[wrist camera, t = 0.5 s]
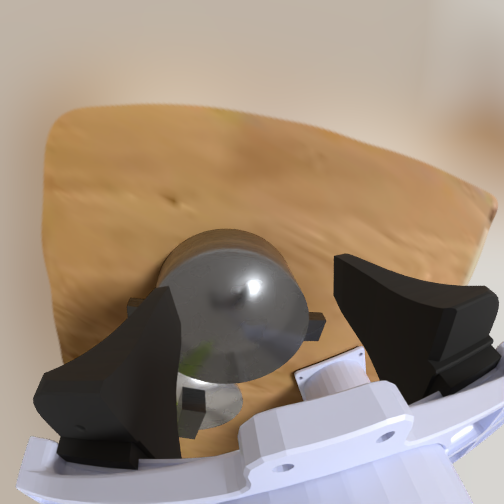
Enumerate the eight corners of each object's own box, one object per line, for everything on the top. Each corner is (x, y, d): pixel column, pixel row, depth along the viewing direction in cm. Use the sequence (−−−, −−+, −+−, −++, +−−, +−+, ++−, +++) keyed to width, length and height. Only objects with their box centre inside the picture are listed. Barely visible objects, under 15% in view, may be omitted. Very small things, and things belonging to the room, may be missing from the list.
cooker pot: (322, 240, 23) (348, 269, 18) (290, 345, 27) (303, 383, 23) (140, 219, 20) (123, 246, 16) (141, 335, 24) (132, 375, 20)
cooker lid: (256, 371, 29) (262, 401, 25) (225, 428, 33) (228, 452, 29) (140, 350, 26) (134, 381, 22) (134, 413, 30) (130, 439, 26)
